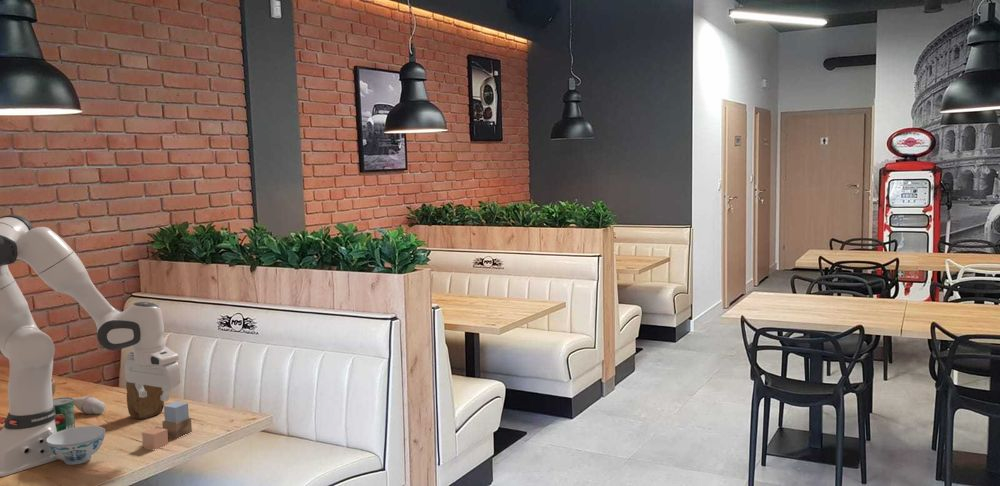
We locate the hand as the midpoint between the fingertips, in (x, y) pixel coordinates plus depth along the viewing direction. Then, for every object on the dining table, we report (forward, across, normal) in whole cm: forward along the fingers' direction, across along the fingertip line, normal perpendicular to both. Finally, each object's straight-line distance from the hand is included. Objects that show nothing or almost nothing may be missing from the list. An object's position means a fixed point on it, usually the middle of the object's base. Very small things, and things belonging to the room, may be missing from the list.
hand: (153, 398), depth 226 cm
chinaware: (+15, -12, -18) cm, 26 cm away
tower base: (+15, -2, +10) cm, 18 cm away
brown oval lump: (+15, -27, +18) cm, 36 cm away
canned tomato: (+15, -37, -6) cm, 41 cm away
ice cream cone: (+15, -49, +11) cm, 53 cm away
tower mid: (+10, -2, +10) cm, 14 cm away
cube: (+15, 0, 0) cm, 15 cm away
